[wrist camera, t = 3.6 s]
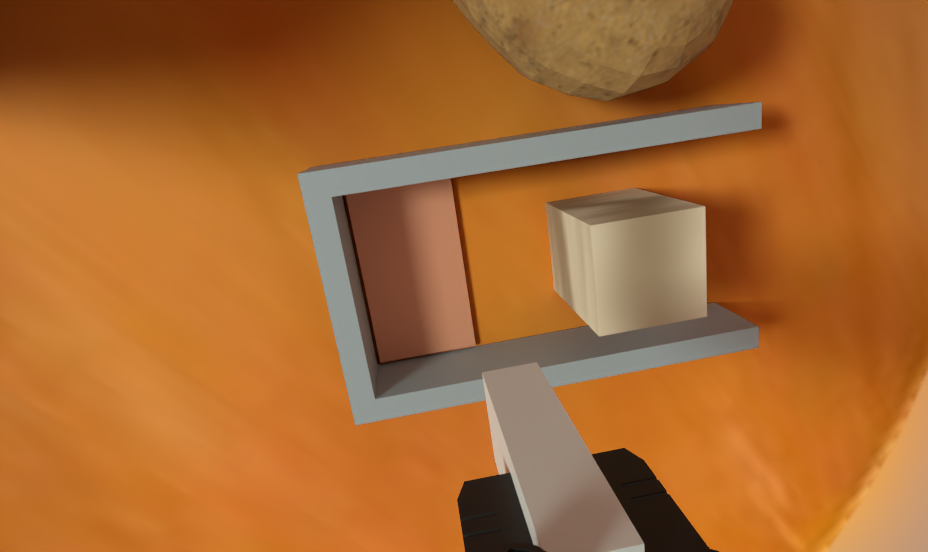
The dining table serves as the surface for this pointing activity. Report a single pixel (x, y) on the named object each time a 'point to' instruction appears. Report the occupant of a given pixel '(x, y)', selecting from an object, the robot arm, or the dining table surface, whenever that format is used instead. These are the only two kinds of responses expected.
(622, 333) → the u-shaped frame
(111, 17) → the dining table surface
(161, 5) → the dining table surface
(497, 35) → the potato
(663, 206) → the block
